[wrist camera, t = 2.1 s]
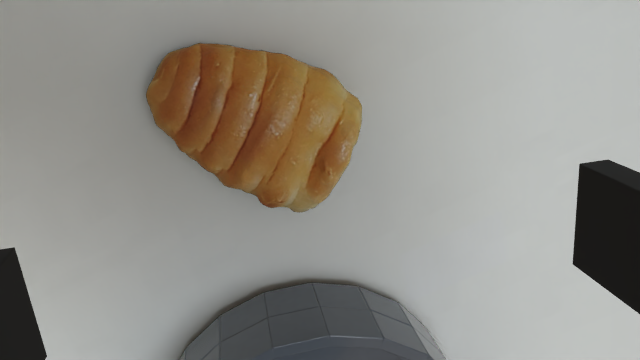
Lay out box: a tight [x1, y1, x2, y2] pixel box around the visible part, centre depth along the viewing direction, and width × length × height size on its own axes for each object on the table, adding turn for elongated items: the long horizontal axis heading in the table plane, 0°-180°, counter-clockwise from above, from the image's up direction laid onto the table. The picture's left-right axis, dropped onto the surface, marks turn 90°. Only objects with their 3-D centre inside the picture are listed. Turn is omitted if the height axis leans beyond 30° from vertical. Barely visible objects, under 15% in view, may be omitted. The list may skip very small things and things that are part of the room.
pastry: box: [146, 43, 362, 212], centre depth 25 cm, size 9×7×4 cm
